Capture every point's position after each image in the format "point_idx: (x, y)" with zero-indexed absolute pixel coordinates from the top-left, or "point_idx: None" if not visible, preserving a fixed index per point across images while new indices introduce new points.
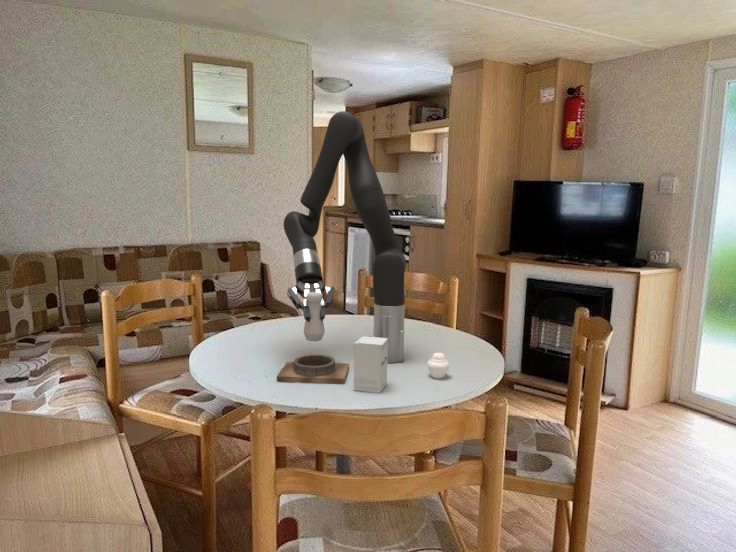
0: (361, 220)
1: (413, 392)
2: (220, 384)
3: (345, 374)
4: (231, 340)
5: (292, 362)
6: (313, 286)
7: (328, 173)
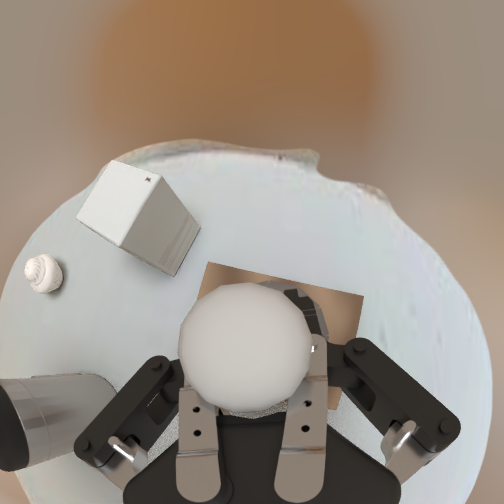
0: None
1: None
2: (455, 291)
3: (200, 289)
4: None
5: None
6: (229, 494)
7: None
